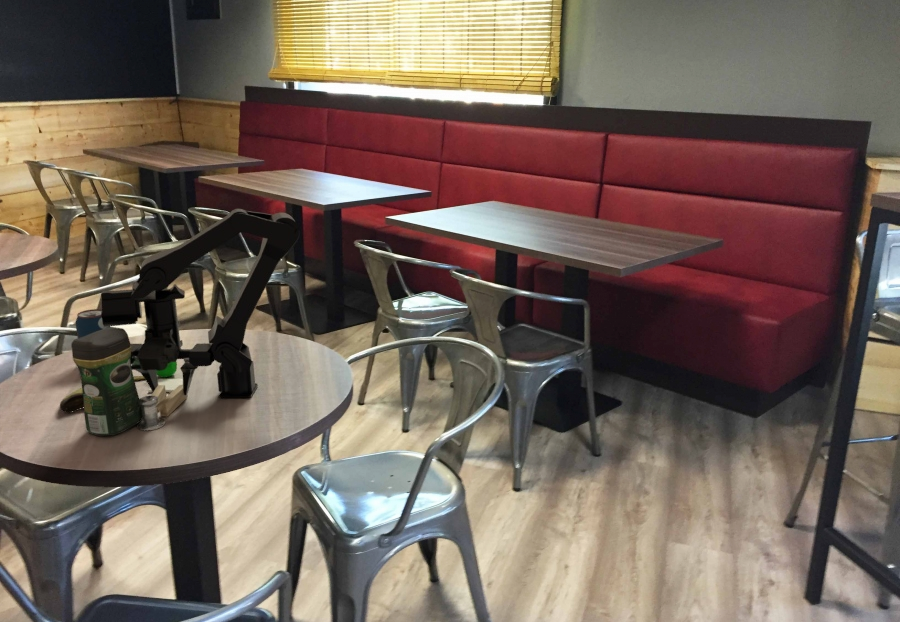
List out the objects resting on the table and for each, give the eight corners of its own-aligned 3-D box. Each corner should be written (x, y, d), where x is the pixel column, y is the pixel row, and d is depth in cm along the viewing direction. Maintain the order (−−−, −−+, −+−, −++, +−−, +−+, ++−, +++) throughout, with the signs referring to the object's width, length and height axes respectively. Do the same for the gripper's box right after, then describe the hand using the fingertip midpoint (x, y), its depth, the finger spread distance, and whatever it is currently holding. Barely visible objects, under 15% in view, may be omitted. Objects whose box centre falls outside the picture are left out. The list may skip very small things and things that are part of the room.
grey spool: (168, 419, 141) (165, 394, 139) (159, 430, 136) (156, 404, 135) (143, 419, 141) (139, 394, 139) (133, 430, 136) (129, 404, 135)
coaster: (187, 381, 158) (186, 378, 158) (177, 392, 153) (177, 389, 153) (159, 381, 158) (158, 378, 158) (148, 392, 153) (148, 390, 152)
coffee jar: (119, 412, 143) (103, 321, 138) (151, 418, 140) (136, 325, 135) (78, 434, 135) (59, 337, 129) (110, 440, 132) (93, 342, 126)
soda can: (121, 361, 169) (114, 311, 166) (93, 371, 164) (85, 319, 160) (103, 355, 173) (96, 306, 170) (75, 364, 168) (67, 314, 164)
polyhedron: (162, 371, 164) (160, 351, 163) (182, 373, 163) (180, 352, 162) (149, 379, 159) (146, 358, 158) (169, 381, 158) (167, 360, 157)
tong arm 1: (166, 396, 150) (165, 385, 149) (152, 420, 140) (151, 407, 139) (159, 397, 150) (157, 385, 149) (144, 420, 140) (143, 408, 139)
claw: (91, 418, 142) (89, 402, 141) (45, 414, 144) (42, 398, 143) (151, 381, 160) (149, 366, 159) (109, 378, 162) (106, 363, 161)
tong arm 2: (187, 397, 150) (186, 385, 149) (162, 420, 140) (161, 408, 139) (180, 396, 150) (179, 384, 149) (155, 420, 140) (153, 407, 139)
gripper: (95, 335, 136) (107, 412, 141) (197, 335, 136) (205, 411, 141) (120, 315, 147) (130, 388, 152) (214, 315, 147) (222, 388, 152)
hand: (171, 394), depth 149 cm, fingers open, 5 cm apart
